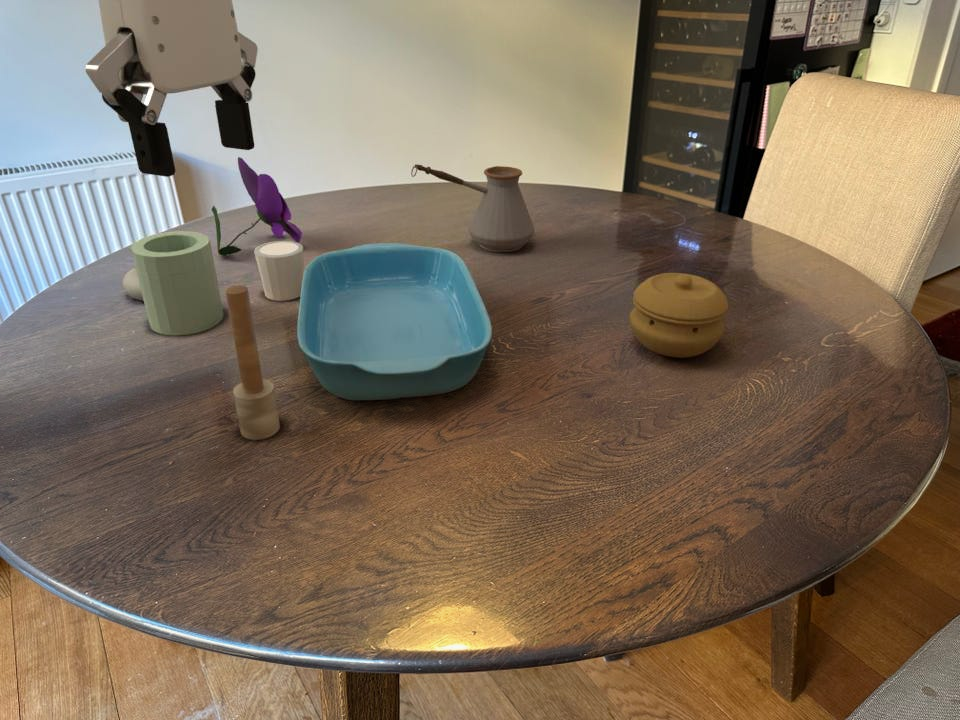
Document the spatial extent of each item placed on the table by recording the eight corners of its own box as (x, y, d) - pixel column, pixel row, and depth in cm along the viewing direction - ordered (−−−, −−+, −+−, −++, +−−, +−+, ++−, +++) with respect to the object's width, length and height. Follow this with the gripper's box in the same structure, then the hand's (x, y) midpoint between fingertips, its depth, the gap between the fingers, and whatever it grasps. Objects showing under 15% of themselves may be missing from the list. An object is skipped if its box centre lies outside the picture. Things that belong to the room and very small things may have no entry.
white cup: (277, 280, 108) (272, 237, 104) (317, 287, 106) (312, 243, 102) (251, 298, 102) (243, 252, 99) (292, 305, 100) (286, 259, 97)
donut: (116, 290, 104) (138, 311, 98) (110, 268, 103) (132, 288, 96) (183, 273, 110) (208, 292, 103) (178, 252, 108) (204, 270, 102)
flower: (263, 296, 115) (322, 243, 118) (206, 227, 104) (274, 171, 108) (224, 270, 124) (280, 221, 128) (168, 204, 113) (232, 153, 117)
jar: (140, 336, 91) (120, 257, 86) (161, 306, 99) (144, 231, 94) (215, 334, 92) (200, 255, 87) (229, 303, 100) (216, 230, 95)
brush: (237, 440, 72) (209, 298, 64) (244, 418, 75) (219, 281, 67) (277, 438, 72) (254, 297, 64) (282, 417, 76) (261, 280, 68)
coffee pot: (519, 230, 129) (523, 148, 122) (543, 252, 120) (549, 164, 112) (406, 242, 123) (403, 155, 116) (422, 265, 114) (420, 173, 106)
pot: (695, 324, 97) (708, 256, 92) (735, 366, 87) (752, 292, 82) (614, 329, 95) (622, 260, 90) (645, 372, 85) (656, 297, 80)
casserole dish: (508, 414, 77) (510, 357, 73) (299, 433, 73) (291, 374, 70) (456, 281, 108) (456, 237, 105) (309, 290, 105) (304, 245, 101)
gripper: (199, -73, 59) (232, 136, 68) (11, -84, 45) (82, 180, 54) (273, -73, 57) (298, 143, 65) (98, -85, 43) (159, 192, 51)
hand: (200, 160), depth 59 cm, fingers open, 9 cm apart
